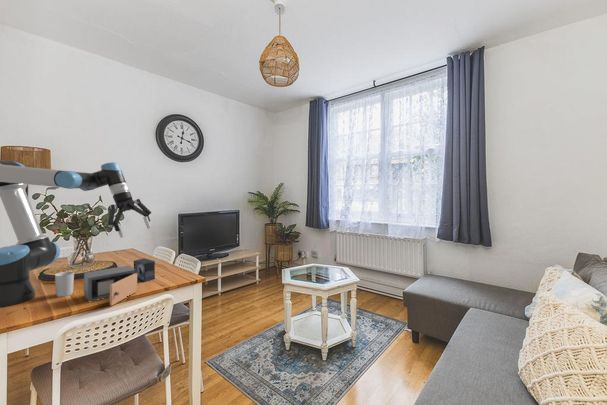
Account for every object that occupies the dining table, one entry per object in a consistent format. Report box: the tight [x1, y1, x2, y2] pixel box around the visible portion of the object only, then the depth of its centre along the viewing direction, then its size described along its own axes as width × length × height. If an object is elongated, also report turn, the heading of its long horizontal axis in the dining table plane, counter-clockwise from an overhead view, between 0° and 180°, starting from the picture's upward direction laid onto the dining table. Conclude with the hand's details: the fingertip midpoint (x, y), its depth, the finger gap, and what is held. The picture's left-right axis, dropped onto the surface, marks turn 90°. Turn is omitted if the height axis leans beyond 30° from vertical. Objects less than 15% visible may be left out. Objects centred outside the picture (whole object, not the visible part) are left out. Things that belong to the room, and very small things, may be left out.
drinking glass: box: [54, 270, 75, 298], centre depth 121 cm, size 7×7×10 cm
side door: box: [109, 273, 138, 306], centre depth 119 cm, size 16×2×9 cm, turn 178°
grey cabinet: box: [83, 265, 135, 303], centre depth 124 cm, size 18×10×11 cm, turn 138°
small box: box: [133, 257, 156, 283], centre depth 145 cm, size 11×6×10 cm, turn 62°
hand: (136, 232), depth 131 cm, fingers open, 13 cm apart
